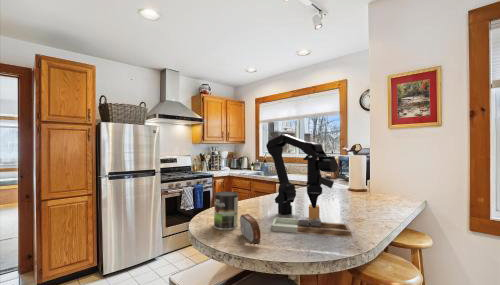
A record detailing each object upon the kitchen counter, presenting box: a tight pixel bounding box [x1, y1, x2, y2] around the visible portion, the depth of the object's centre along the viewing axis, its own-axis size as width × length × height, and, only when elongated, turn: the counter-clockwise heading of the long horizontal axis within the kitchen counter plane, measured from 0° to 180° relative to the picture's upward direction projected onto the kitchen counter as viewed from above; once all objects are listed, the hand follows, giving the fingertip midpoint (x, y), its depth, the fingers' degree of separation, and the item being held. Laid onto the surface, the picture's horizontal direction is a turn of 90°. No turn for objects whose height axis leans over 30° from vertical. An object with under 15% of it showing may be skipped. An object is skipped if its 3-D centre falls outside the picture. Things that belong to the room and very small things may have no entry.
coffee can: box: [213, 191, 239, 231], centre depth 101 cm, size 10×10×14 cm
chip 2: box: [310, 217, 322, 228], centre depth 96 cm, size 4×4×4 cm
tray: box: [270, 216, 299, 234], centre depth 99 cm, size 10×12×3 cm
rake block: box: [308, 204, 320, 221], centre depth 106 cm, size 5×5×8 cm
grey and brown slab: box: [239, 213, 261, 245], centre depth 87 cm, size 15×3×8 cm, turn 21°
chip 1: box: [298, 216, 309, 227], centre depth 97 cm, size 4×4×4 cm
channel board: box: [297, 219, 352, 238], centre depth 95 cm, size 20×12×2 cm, turn 77°
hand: (313, 205), depth 106 cm, fingers open, 9 cm apart
